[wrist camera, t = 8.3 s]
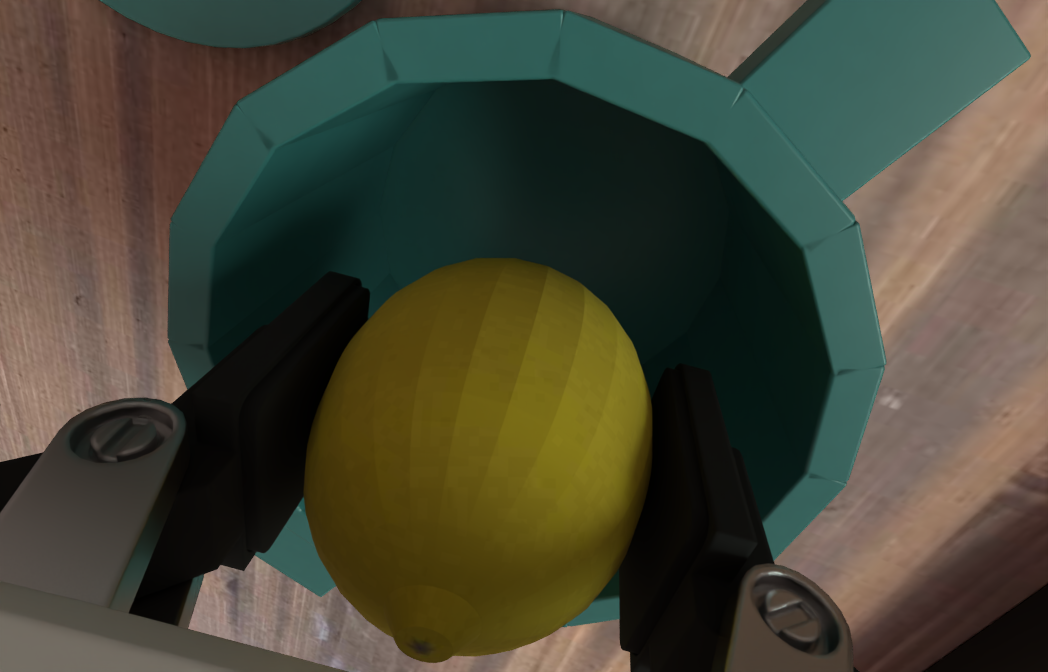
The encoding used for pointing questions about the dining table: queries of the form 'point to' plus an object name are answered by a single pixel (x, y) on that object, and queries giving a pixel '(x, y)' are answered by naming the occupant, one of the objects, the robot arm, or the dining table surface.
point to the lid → (234, 19)
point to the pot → (597, 203)
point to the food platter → (1006, 642)
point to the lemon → (480, 458)
